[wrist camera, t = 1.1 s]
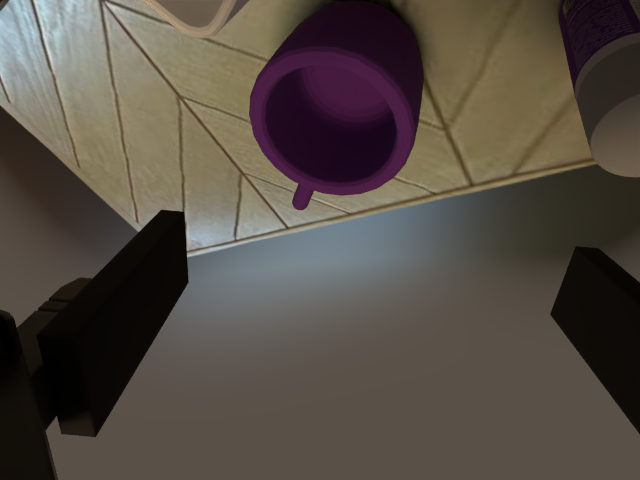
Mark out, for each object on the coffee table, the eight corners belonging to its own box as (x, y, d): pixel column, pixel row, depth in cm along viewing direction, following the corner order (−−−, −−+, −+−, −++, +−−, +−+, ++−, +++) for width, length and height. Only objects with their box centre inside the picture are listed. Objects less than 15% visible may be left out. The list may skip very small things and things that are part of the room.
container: (556, 46, 30) (582, 183, 21) (559, -27, 27) (591, 94, 18) (637, 32, 28) (706, 175, 19) (650, -49, 25) (742, 73, 16)
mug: (313, -42, 30) (263, 14, 24) (459, 25, 31) (449, 98, 25) (265, 142, 44) (225, 209, 37) (368, 186, 44) (346, 260, 38)
